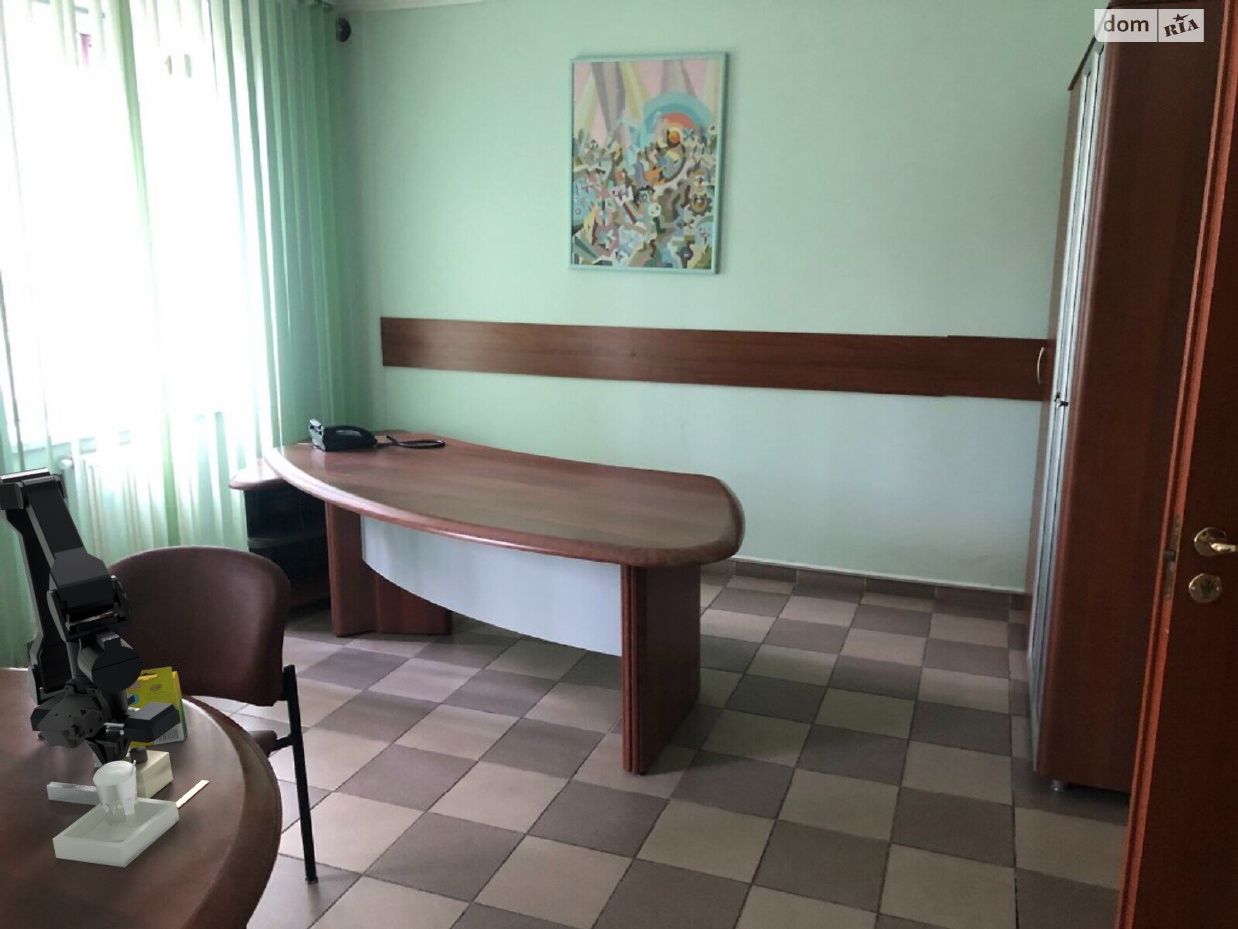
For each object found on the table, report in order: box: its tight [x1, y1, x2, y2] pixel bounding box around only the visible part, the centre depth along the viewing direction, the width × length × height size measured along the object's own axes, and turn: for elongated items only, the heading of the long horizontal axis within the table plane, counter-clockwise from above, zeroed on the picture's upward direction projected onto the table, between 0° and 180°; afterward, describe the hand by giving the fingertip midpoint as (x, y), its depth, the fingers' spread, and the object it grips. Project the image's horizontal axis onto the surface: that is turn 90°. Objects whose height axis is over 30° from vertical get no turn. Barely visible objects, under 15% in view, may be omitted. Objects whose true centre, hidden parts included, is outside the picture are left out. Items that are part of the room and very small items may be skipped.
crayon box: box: [126, 666, 188, 750], centre depth 139 cm, size 7×3×12 cm, turn 105°
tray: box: [52, 797, 180, 868], centre depth 117 cm, size 10×10×2 cm
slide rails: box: [46, 752, 210, 809], centre depth 128 cm, size 18×9×2 cm, turn 76°
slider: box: [121, 746, 174, 799], centre depth 128 cm, size 5×5×6 cm
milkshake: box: [92, 760, 140, 841], centre depth 116 cm, size 5×5×10 cm
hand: (115, 775), depth 129 cm, fingers closed
